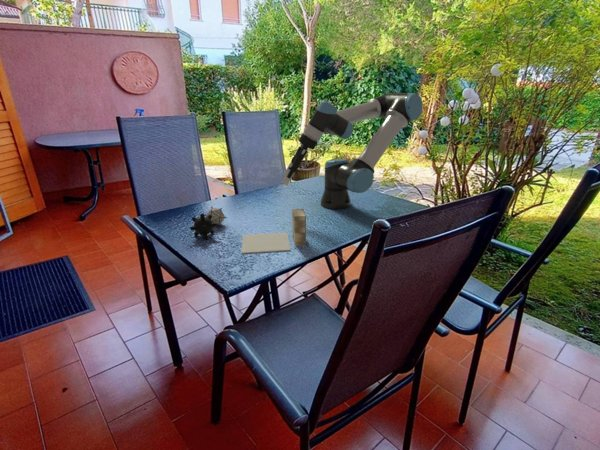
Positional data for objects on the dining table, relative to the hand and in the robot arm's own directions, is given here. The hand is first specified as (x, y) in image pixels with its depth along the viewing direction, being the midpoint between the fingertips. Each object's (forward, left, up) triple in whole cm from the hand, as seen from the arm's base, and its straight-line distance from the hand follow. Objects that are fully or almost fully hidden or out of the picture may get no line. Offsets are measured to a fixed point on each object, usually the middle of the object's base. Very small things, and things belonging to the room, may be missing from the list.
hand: (285, 179), depth 148 cm
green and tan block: (-3, +24, -19) cm, 30 cm away
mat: (+10, +24, -19) cm, 32 cm away
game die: (+31, +2, -19) cm, 36 cm away
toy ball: (+35, +14, -19) cm, 42 cm away
